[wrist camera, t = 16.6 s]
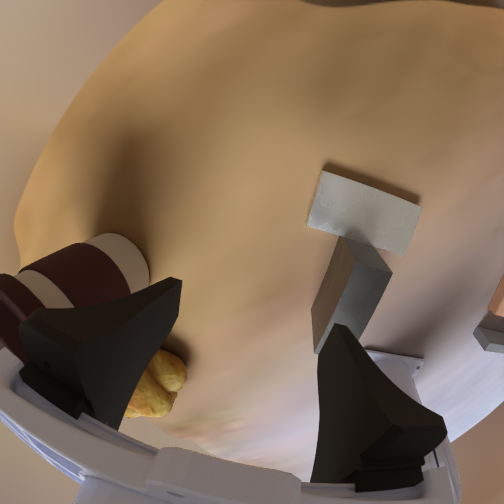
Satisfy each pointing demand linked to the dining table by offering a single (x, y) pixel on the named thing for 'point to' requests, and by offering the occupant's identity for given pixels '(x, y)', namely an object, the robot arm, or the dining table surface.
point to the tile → (498, 300)
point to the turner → (356, 250)
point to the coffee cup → (70, 282)
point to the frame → (490, 339)
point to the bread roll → (157, 386)
